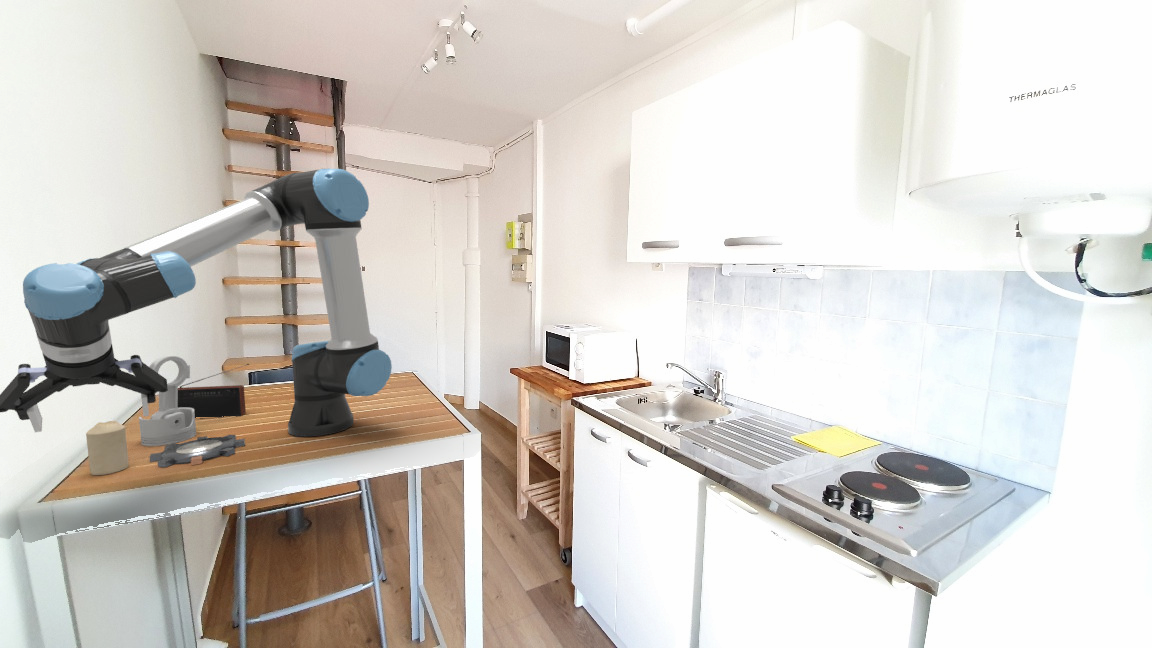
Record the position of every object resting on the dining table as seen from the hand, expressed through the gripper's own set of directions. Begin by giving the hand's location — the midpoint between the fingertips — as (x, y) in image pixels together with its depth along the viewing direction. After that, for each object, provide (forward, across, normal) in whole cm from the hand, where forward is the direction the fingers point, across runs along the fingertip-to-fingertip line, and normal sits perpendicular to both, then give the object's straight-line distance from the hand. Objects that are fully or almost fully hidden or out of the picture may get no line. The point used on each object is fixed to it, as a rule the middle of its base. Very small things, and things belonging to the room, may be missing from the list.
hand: (95, 417), depth 83 cm
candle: (+16, +1, -3) cm, 17 cm away
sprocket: (+16, +15, -3) cm, 22 cm away
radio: (+38, +20, +19) cm, 47 cm away
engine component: (+28, +10, +9) cm, 31 cm away
